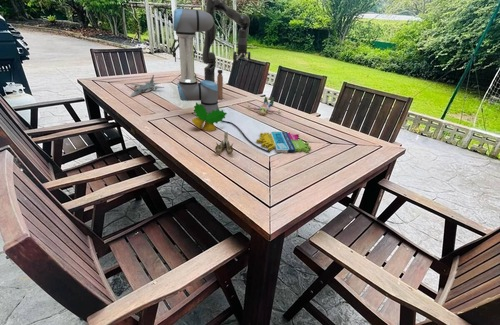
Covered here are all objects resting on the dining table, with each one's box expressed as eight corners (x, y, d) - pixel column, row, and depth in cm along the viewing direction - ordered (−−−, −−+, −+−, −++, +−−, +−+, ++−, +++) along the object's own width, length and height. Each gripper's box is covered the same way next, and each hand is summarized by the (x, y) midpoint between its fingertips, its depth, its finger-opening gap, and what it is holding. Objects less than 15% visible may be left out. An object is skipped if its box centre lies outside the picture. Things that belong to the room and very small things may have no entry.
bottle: (220, 99, 222) (220, 71, 210) (216, 98, 224) (216, 70, 213) (223, 98, 225) (224, 70, 214) (219, 97, 227) (219, 70, 216)
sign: (313, 150, 142) (258, 149, 139) (312, 153, 143) (258, 152, 140) (301, 132, 164) (254, 130, 161) (301, 134, 165) (254, 133, 162)
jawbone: (234, 135, 144) (233, 125, 135) (233, 160, 138) (232, 151, 129) (217, 135, 144) (216, 125, 135) (216, 160, 138) (214, 150, 129)
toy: (286, 98, 212) (281, 108, 186) (285, 107, 216) (280, 118, 190) (253, 94, 217) (244, 103, 191) (252, 103, 221) (243, 112, 195)
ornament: (218, 133, 171) (224, 110, 169) (221, 134, 163) (227, 111, 161) (186, 125, 162) (192, 101, 160) (189, 126, 155) (195, 101, 153)
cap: (220, 73, 212) (220, 70, 211) (216, 72, 214) (216, 70, 212) (223, 73, 214) (223, 70, 213) (219, 72, 216) (219, 69, 215)
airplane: (124, 86, 238) (122, 75, 233) (160, 84, 251) (158, 74, 246) (129, 99, 209) (126, 86, 204) (168, 96, 223) (167, 84, 217)
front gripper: (198, 33, 207) (199, 61, 218) (165, 31, 201) (168, 60, 211) (199, 33, 201) (200, 62, 211) (165, 32, 194) (168, 62, 205)
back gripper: (248, 43, 214) (247, 64, 222) (232, 43, 208) (231, 64, 216) (252, 44, 208) (251, 65, 216) (235, 44, 202) (235, 66, 210)
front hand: (184, 61), depth 211 cm, fingers open, 13 cm apart
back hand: (241, 65), depth 216 cm, fingers open, 8 cm apart
